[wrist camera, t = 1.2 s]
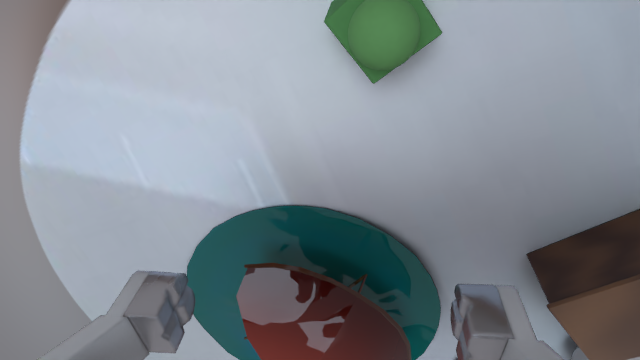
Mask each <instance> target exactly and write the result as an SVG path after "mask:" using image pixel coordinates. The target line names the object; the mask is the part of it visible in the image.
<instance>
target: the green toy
mask: <svg viewBox="0 0 640 360" xmlns="http://www.w3.org/2000/svg"><path fill="white" fill-rule="evenodd" d="M324 22H325V24H326V25H327V26H328V27H329V29H330V30H331V31H332V32H333V34H334V35H335V36H336V37H337V39H338V40H339V41H340V42H341V44H342V45H343V46H344V48H345V49H346V50H347V51H348V53H349V54H350V55H351V56H352V58H353V59H354V60H355V61H356V63H357V64H358V65H359V66H360V68H361V69H362V70H363V72H364V73H365V74H366V75H367V77H368V78H369V79H370V80H371V82H372V83H373V84H374V83H376V82H377V81H378V80H380V79H381V78H382V77H384V76H385V75H386V74H388V73H389V72H391V71H392V70H393V69H395V68H396V67H398V66H400V65H401V64H403V63H404V62H406V61H407V60H408V59H409V58H410V57H411V56H412V55H414V54H415V53H416V52H418V51H419V50H420V49H422V48H423V47H425V46H426V45H427V44H429V43H430V42H431V41H433V40H434V39H435V38H437V37H438V36H439V35H441V34H442V31H441V30H440V28H439V26H438V25H437V23H436V21H435V20H434V18H433V17H432V15H431V13H430V12H429V10H428V9H427V7H426V6H425V4H424V3H423V1H422V0H334V1H333V2H332V3H331V5H330V8H329V10H328V13H327V15H326V18H325V20H324Z"/></svg>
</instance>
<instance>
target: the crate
mask: <svg viewBox="0 0 640 360" xmlns="http://www.w3.org/2000/svg"><path fill="white" fill-rule="evenodd" d="M527 257H528V259H529V261H530V263H531V265H532V268H533V270H534V272H535V274H536V276H537V278H538V280H539V283H540V285H541V287H542V289H543V291H544V293H545V295H546V298H547V300H548V302H549V304H547V307H548V309H549V310H550V312H551V313H552V314H553V315H554V317H555V318H556V319H557V320H558V322H559V323H560V324H561V325H562V327H563V328H564V329H565V330H566V332H567V333H568V334H569V335H570V337H571V338H572V339H573V340H574V342H575V343H576V344H577V345H578V347H579V348H580V349H581V350H582V352H583V353H584V354H585V355H586V357H587V358H588V359H589V360H628V359H632V358H636V357H640V209H639V210H637V211H634V212H632V213H629V214H627V215H624V216H622V217H619V218H617V219H614V220H612V221H609V222H607V223H604V224H601V225H599V226H596V227H594V228H591V229H589V230H586V231H584V232H581V233H579V234H576V235H574V236H571V237H569V238H566V239H564V240H561V241H559V242H556V243H553V244H551V245H548V246H546V247H543V248H541V249H538V250H536V251H533V252H531V253H528V254H527Z"/></svg>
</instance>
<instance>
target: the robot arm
mask: <svg viewBox="0 0 640 360" xmlns="http://www.w3.org/2000/svg"><path fill="white" fill-rule="evenodd" d="M188 281H189V280H188V278H187V276H186V274H185V273H171V272H156V271H136V272H135V273H134V274H132V276H131V277H130V279H129V280H128V282H127V283H126V285H125V286H124V288H123V290H122V291H121V293H120V294H119V296H118V297H117V299H116V300H115V302H114V303H113V305H112V306H111V308H110V309H109V311H108V312H107V314H106V315H101V316H99V317H98V318H96V319H95V320H93V321H92V322H91V323H89V324H88V325H86V326H85V327H83V328H82V329H80V330H79V331H78V332H76V333H75V334H73V335H72V336H70V337H69V338H67V339H66V340H64V341H63V342H62V343H60V344H59V345H57V346H56V347H54V348H53V349H51V350H50V351H49V352H47V353H46V354H44V355H43V356H42V357H40V358H38V359H37V360H143V359H145V358H146V357H147V356H148V355H149V352H157V353H176V351H177V349H178V347H179V344H180V342H181V340H182V338H183V335H184V329H183V325H185V324H186V323H187V322H188V321H189V320H190V319H191V317H192V315H193V312H194V308H195V294H194V292H193V290H192V289H191V288H190V287H188V286H187V283H188ZM455 297H456V300H454V301H453V302H452V306H451V326H452V331H453V335H454V336H455V337H456V339H457V340H458V344H457V348H456V352H457V357H458V360H564V359H563V358H562V357H560V356H559V355H558V354H557V353H556V352H555V351H554V350H553V349H552V348H551V347H549V346H548V345H547V344H546V343H545V342H544V341H538V340H537V338H536V336H535V333H534V331H533V328H532V326H531V323H530V321H529V318H528V316H527V313H526V311H525V308H524V306H523V303H522V301H521V298H520V296H519V293H518V291H517V289H516V288H515V287H514V286H502V285H484V284H457V285H456V287H455Z"/></svg>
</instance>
